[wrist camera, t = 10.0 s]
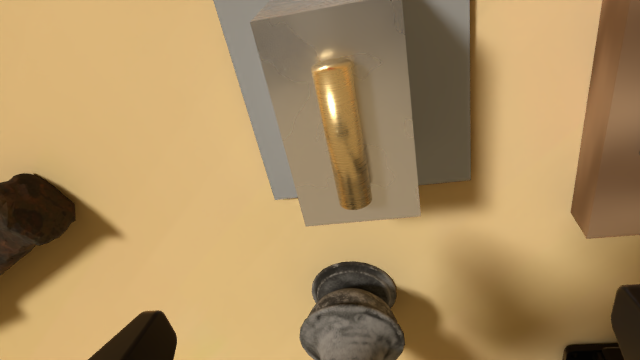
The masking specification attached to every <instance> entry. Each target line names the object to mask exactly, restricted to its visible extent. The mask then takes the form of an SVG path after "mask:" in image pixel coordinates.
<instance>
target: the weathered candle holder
mask: <svg viewBox="0 0 640 360" xmlns="http://www.w3.org/2000/svg"><path fill="white" fill-rule="evenodd" d="M312 295H313V298H314V300H315V302H316V305H315V306H314V308H313V309H312V311H311V312H310V314H309V316H308V318H307V319H305V321H304V323H303V324H302V326H301V329H300V341H301V344H302V347H303V348H304V349H305V351H306V352H307V353H308V355H309V356H311V357H312V358H313V359H314V360H396V359H397V358H398V357H399V356H400V354H401V353H402V351H403V348H404V345H405V341H404V333H403V331H402V330H401V328H400V326H399V324H397V320H396V318H395V317H394V315H393V313H392V311H391V307H392V306H393V304H394V303H395V299H396V287H395V285H394V283H393V281H392V279H391V278H390V277H389V276H388V275H387V274H386V273H385V272H384V271H382V270H380V269H379V268H377V267H375V266H372V265H369V264H366V263H360V262H341V263H337V264H334V265H331V266H329V267H327V268H325V269H323V270H322V271H321V272H320V273H319V274H318V275H317V276H316V278H315V280H314V281H313V285H312Z"/></svg>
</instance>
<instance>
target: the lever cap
mask: <svg viewBox="0 0 640 360" xmlns="http://www.w3.org/2000/svg"><path fill="white" fill-rule="evenodd" d="M250 24H251V28H252V32H253V35H254V39H255V43H256V46H257V50H258V54H259V57H260V61H261V64H262V68H263V72H264V75H265V79H266V83H267V86H268V90H269V94H270V97H271V101H272V105H273V108H274V112H275V116H276V119H277V123H278V127H279V130H280V134H281V138H282V141H283V145H284V148H285V152H286V156H287V159H288V163H289V167H290V170H291V174H292V178H293V181H294V185H295V189H296V192H297V196H298V200H299V203H300V207H301V211H302V214H303V218H304V222H305V225H306V226H316V225H327V224H339V223H350V222H361V221H373V220H384V219H395V218H406V217H418V216H421V212H420V200H419V189H418V177H417V166H416V154H415V143H414V132H413V120H412V109H411V97H410V86H409V75H408V63H407V52H406V40H405V29H404V18H403V6H402V0H270V1H269V2H268V3H267V4H266V5H265V6H264V7H263V8H262V9H261V10H260V12H259V13H258V14H257V15H256V16H255V17H254V18H253V19H252V20H251V21H250Z"/></svg>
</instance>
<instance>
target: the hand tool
mask: <svg viewBox="0 0 640 360" xmlns="http://www.w3.org/2000/svg"><path fill="white" fill-rule="evenodd" d="M74 221H75V205H74V203H73V202H72V201H71V200H69V199H68V198H66V197H65V196H64V195H63V194H62V193H61V192H60V191H59V190H58V189H56V188H55V187H54V186H52V185H51V184H49V183H48V182H47V181H45V180H43V179H41V178H39V177H37V176H36V175H32V174H19V175H15V176H13V178H12V179H10V180H9V181H6V182H2V183H0V275H1V274H2V273H4V272H5V271H6V270H8V269H9V268H10V267H11V266H12V265H13V264H15V263H16V262H17V261H18V260H20V259H21V258H22V257H23V256H25V255H26V254H27V253H29V252H30V251H31V250H32V249H33V248H34V246H35V245H42V244H45V243H48V242H50V241H52V240H54V239H56V238H58V237H60V236H61V235H62V234H63V233H64V232H65V231H66V230H67V229H68V227H69V225H70V224H71V222H74Z"/></svg>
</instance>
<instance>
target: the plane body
mask: <svg viewBox="0 0 640 360" xmlns="http://www.w3.org/2000/svg"><path fill="white" fill-rule="evenodd" d="M571 214H572V215H573V217H574V219H575V220H576V222H577V223H578V225H579V227H580V228H581V230H582V232H583V233H584V235H585V236H586V238H587V239H588V238H602V237H616V236H630V235H640V0H603V1H602V8H601V15H600V21H599V28H598V35H597V41H596V48H595V55H594V61H593V68H592V75H591V81H590V88H589V95H588V101H587V108H586V115H585V121H584V128H583V135H582V141H581V148H580V155H579V161H578V168H577V175H576V181H575V188H574V195H573V201H572V208H571Z"/></svg>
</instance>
